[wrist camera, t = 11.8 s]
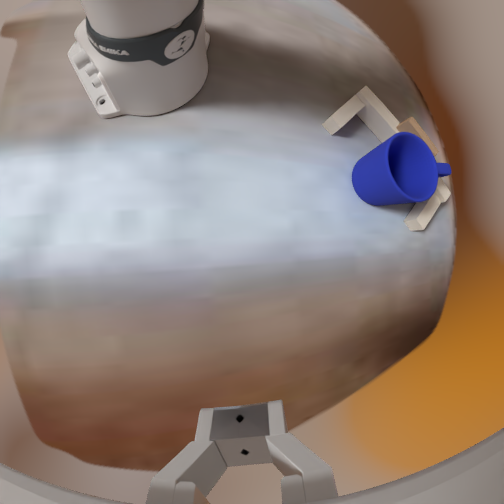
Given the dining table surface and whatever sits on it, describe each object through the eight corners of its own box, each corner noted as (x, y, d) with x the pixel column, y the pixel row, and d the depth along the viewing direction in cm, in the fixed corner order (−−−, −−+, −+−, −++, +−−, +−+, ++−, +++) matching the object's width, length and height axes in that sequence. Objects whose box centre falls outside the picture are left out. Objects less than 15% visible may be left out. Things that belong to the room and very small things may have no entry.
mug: (415, 207, 40) (462, 199, 30) (349, 213, 38) (393, 203, 28) (405, 155, 40) (449, 136, 30) (339, 153, 38) (378, 128, 28)
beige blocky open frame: (321, 124, 37) (344, 103, 31) (353, 96, 38) (376, 75, 31) (410, 230, 40) (442, 228, 33) (433, 196, 41) (464, 190, 34)
